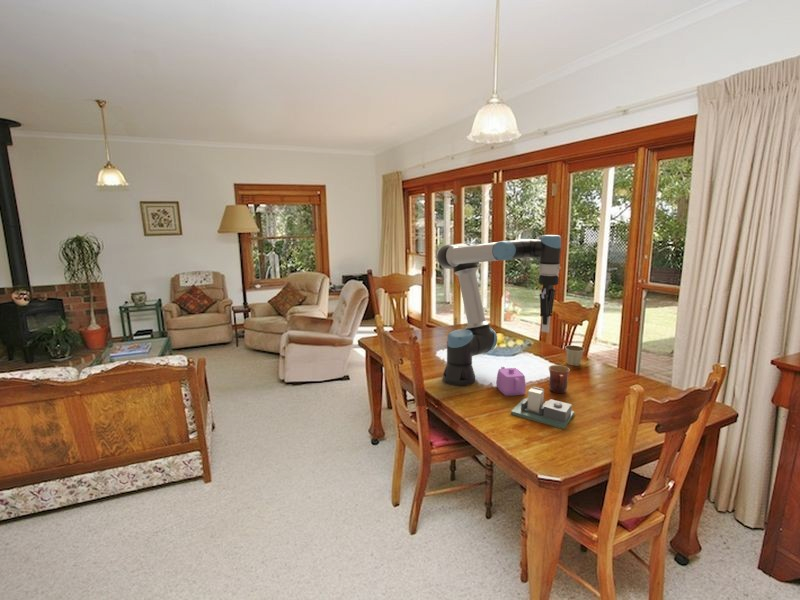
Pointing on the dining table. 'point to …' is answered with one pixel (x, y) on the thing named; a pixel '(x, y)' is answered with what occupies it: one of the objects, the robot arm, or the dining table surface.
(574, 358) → the flower pot
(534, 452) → the dining table surface
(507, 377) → the teapot
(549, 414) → the board
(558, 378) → the mug
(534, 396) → the light grey block
